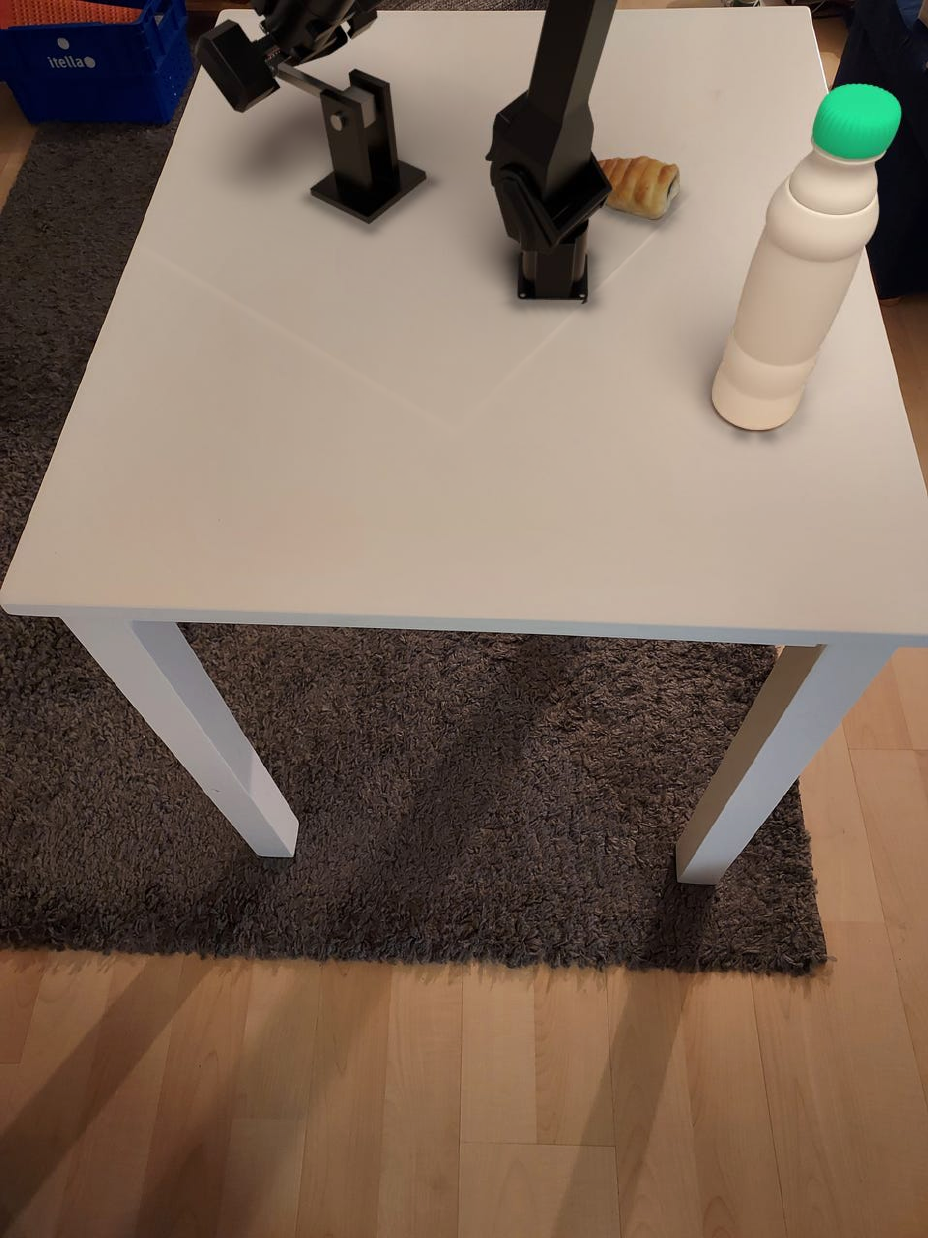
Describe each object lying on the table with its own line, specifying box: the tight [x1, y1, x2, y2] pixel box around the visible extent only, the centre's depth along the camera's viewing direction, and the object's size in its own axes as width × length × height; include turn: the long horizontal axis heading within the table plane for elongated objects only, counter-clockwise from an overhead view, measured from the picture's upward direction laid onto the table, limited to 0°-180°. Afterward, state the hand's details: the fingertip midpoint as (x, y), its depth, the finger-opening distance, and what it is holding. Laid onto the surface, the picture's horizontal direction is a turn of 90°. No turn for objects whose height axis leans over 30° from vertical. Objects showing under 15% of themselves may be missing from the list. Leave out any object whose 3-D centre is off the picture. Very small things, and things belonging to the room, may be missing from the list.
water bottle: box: [711, 83, 902, 431], centre depth 60 cm, size 7×7×25 cm
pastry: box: [597, 155, 681, 220], centre depth 83 cm, size 9×7×4 cm
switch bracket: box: [309, 68, 427, 225], centre depth 82 cm, size 8×9×10 cm
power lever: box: [268, 48, 377, 128], centre depth 81 cm, size 14×6×2 cm, turn 52°
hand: (262, 76), depth 85 cm, fingers closed on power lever, 5 cm apart
